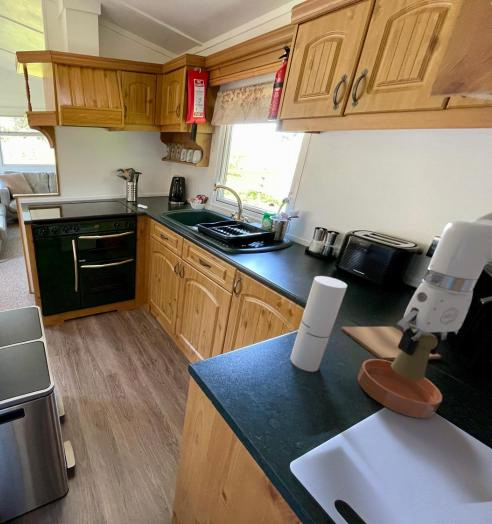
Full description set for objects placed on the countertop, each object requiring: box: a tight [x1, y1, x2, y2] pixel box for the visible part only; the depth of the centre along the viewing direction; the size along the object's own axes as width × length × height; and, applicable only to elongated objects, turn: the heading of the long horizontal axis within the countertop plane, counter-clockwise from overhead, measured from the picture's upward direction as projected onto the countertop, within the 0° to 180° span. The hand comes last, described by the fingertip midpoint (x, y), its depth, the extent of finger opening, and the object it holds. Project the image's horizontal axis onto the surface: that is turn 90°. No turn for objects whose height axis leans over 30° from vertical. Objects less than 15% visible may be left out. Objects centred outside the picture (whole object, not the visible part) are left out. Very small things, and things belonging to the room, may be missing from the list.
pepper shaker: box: [391, 328, 438, 381], centre depth 68 cm, size 6×6×11 cm
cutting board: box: [340, 325, 442, 361], centre depth 93 cm, size 20×16×1 cm
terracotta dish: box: [357, 358, 443, 419], centre depth 71 cm, size 15×15×4 cm
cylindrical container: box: [289, 275, 348, 372], centre depth 77 cm, size 7×7×25 cm
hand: (416, 350), depth 67 cm, fingers closed on pepper shaker, 5 cm apart
